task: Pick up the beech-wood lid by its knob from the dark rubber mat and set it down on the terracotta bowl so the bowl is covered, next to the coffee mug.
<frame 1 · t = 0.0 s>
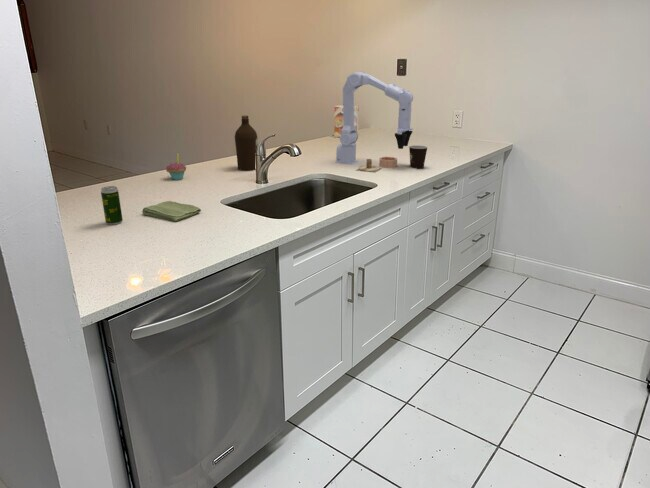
hand: (402, 147, 244), 10 cm above the worktop, tool pointing down, fingers open, 7 cm apart
washcloth: (172, 215, 181), on the worktop
coffeecake box: (346, 137, 332), on the worktop
beer can: (114, 223, 171), on the worktop
coffee mug: (417, 167, 251), on the worktop
lid: (368, 169, 244), resting on mat
cupcake: (177, 179, 228), on the worktop
bowl: (387, 166, 251), on the worktop
olive oil: (247, 169, 246), on the worktop
mat: (368, 170, 244), on the worktop
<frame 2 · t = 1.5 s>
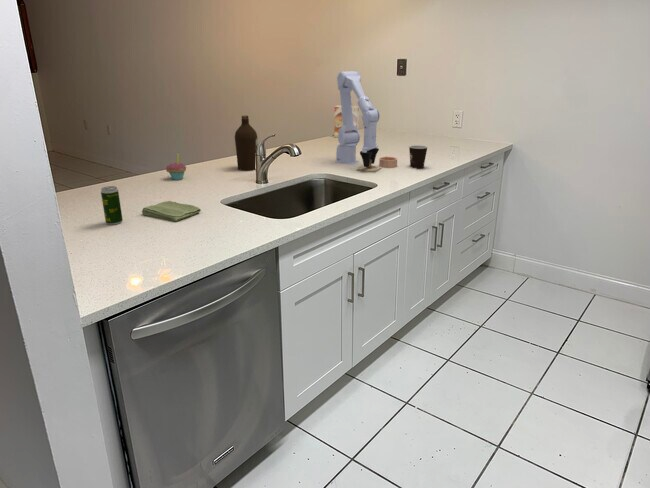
hand: (369, 165, 243), 2 cm above the worktop, tool pointing down, fingers open, 7 cm apart
nothing on the worktop moved.
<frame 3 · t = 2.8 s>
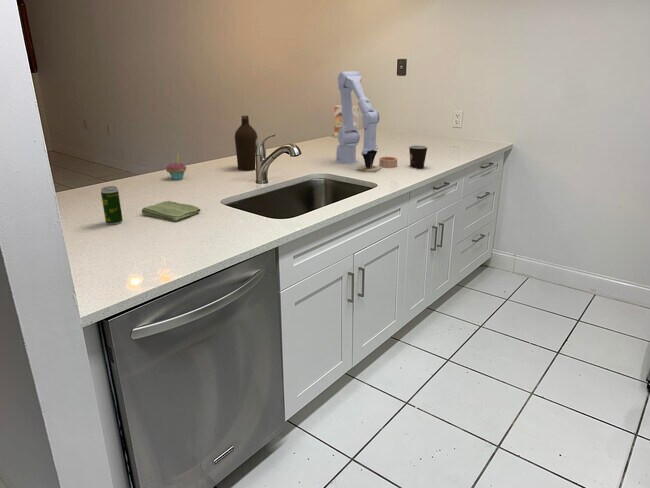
hand: (368, 166, 243), 2 cm above the worktop, tool pointing down, fingers closed on lid, 2 cm apart
lid: (368, 169, 244), resting on mat, touching gripper
everything else where it was.
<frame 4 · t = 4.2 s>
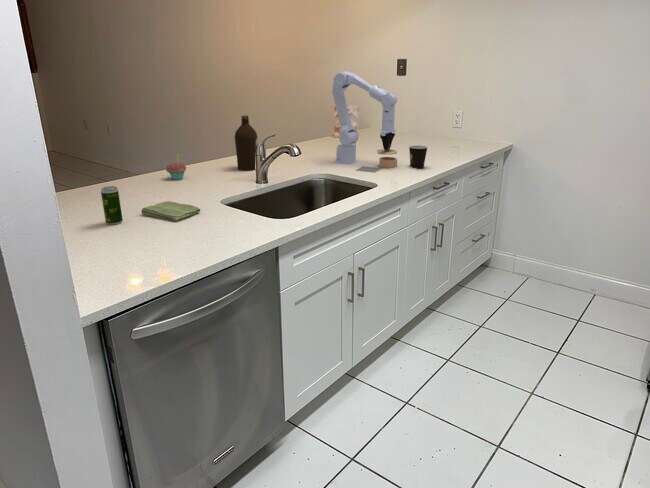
hand: (386, 148, 247), 9 cm above the worktop, tool pointing down, fingers closed on lid, 2 cm apart
lid: (386, 152, 247), point 7 cm above the worktop, touching gripper
everything else where it was.
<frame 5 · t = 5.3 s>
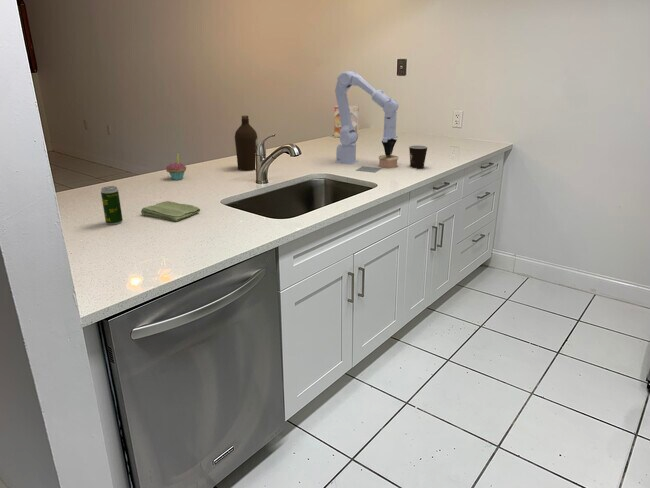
hand: (388, 154, 249), 6 cm above the worktop, tool pointing down, fingers closed on lid, 2 cm apart
lid: (388, 158, 249), point 4 cm above the worktop, touching bowl, gripper
everything else where it was.
when the fingers open (6 cm above the worktop, at t = 5.5 s): lid stays where it is, resting on bowl.
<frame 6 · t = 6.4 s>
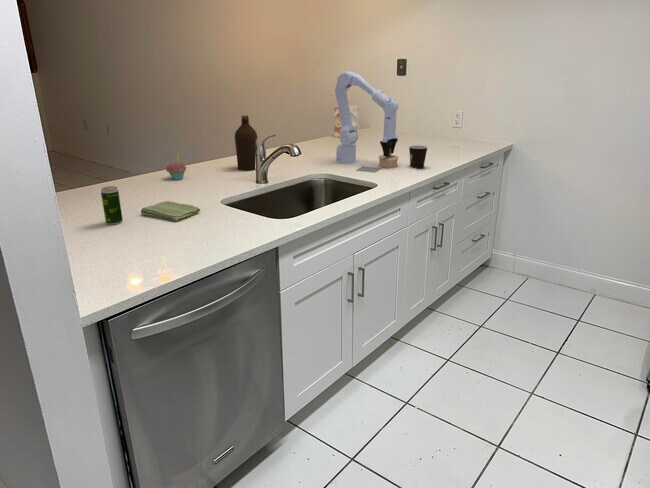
hand: (388, 154, 249), 6 cm above the worktop, tool pointing down, fingers open, 7 cm apart
lid: (388, 158, 249), point 4 cm above the worktop, touching bowl
everything else where it was.
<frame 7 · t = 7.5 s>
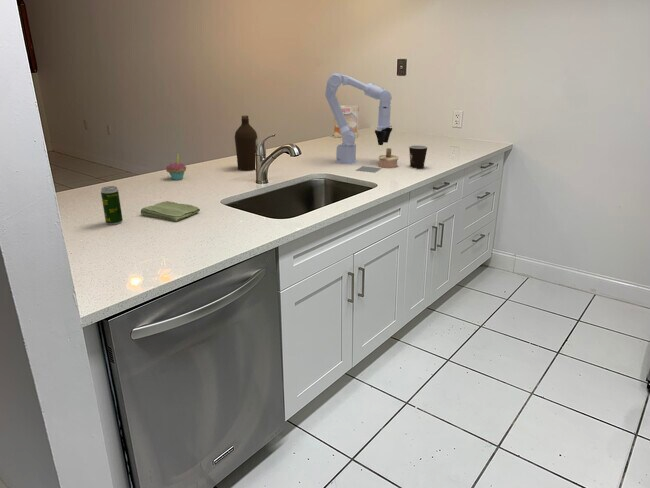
hand: (383, 143, 254), 10 cm above the worktop, tool pointing down, fingers open, 7 cm apart
nothing on the worktop moved.
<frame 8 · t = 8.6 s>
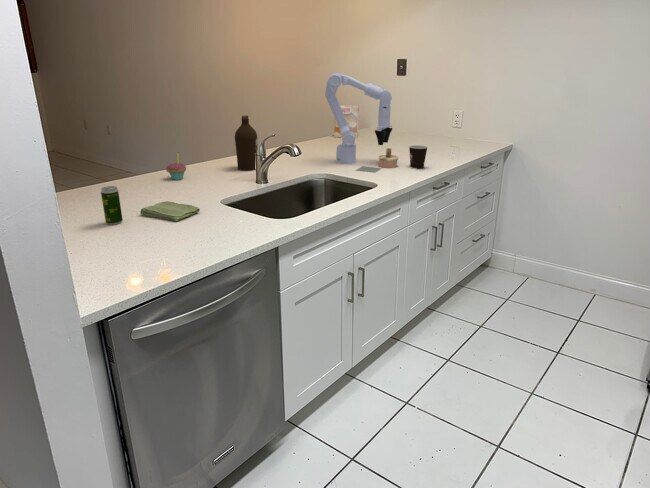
hand: (383, 143, 254), 10 cm above the worktop, tool pointing down, fingers open, 7 cm apart
nothing on the worktop moved.
at the end: lid 0.0 cm off-centre on the bowl, point 4.0 cm above the bowl's base; lid tilted 0°; the gripper is holding nothing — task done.
